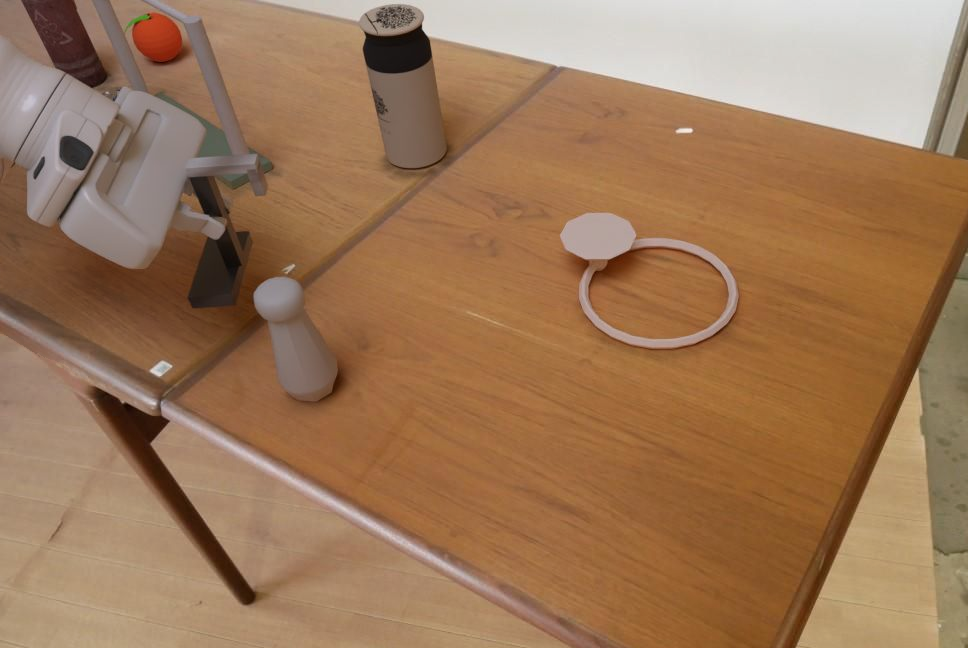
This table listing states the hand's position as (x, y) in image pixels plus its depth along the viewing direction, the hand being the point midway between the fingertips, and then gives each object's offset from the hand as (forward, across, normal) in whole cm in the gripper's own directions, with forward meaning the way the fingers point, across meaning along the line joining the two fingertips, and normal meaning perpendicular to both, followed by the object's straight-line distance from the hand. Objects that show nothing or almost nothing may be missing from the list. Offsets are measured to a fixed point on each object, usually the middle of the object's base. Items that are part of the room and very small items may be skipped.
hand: (226, 221), depth 81 cm
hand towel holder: (+38, 0, +20) cm, 43 cm away
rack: (-2, -37, -20) cm, 42 cm away
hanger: (+4, 0, -5) cm, 6 cm away
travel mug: (+20, -30, +2) cm, 36 cm away
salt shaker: (+14, +11, -4) cm, 18 cm away
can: (-16, -57, -35) cm, 68 cm away
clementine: (-9, -62, -27) cm, 68 cm away
